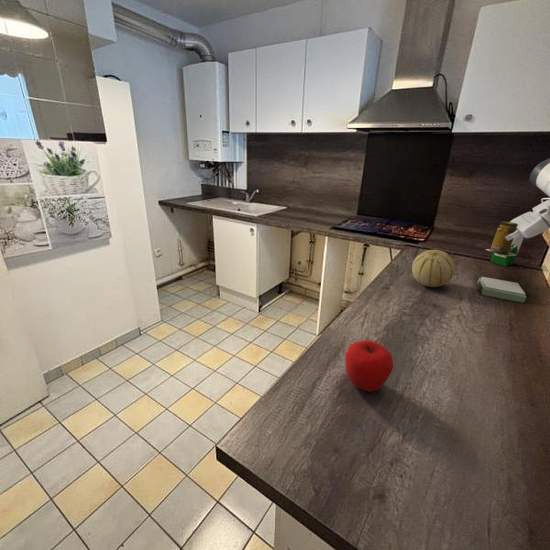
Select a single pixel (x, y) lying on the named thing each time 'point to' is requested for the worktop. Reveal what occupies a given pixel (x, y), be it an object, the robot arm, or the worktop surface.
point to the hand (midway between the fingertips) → (504, 236)
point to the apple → (368, 365)
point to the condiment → (503, 239)
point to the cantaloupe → (433, 268)
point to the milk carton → (513, 249)
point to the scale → (501, 289)
